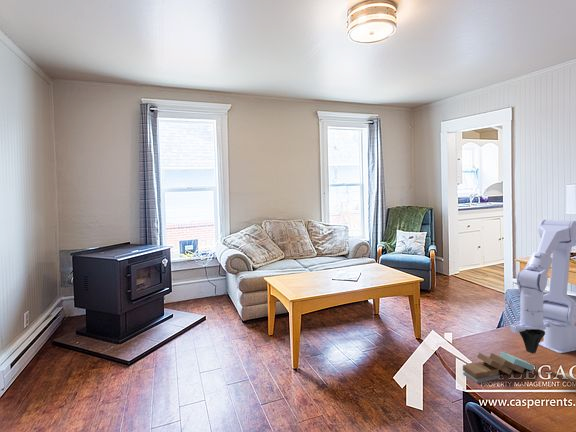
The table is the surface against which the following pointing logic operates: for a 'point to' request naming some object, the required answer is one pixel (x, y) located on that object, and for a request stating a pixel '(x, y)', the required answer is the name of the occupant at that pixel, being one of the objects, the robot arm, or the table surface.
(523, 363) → the teal domino
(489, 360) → the domino
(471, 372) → the domino
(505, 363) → the domino
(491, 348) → the table surface
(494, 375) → the charcoal domino
